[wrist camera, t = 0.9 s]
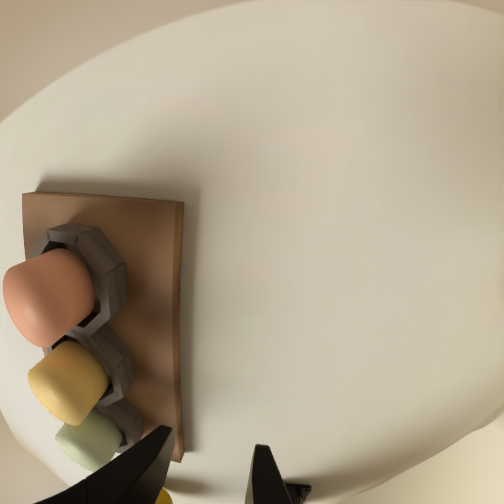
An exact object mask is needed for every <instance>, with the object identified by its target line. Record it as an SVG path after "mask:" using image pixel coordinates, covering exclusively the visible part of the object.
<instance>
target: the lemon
mask: <svg viewBox="0 0 504 504" xmlns="http://www.w3.org/2000/svg"><path fill="white" fill-rule="evenodd" d="M155 504H173V503H172V499H171V497H170V495H169V494H168V493H167V491H166V490H164V489H163V488H162V489H161V491H160V494H159V496H158V498H157V500H156V502H155Z"/></svg>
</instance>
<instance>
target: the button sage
mask: <svg viewBox="0 0 504 504" xmlns="http://www.w3.org/2000/svg"><path fill="white" fill-rule="evenodd" d="M122 440H123V436H122V433H121V431H120V429H119V428H118V427H117V425H116V424H115V423H114V422H113V421H112V420H111V419H109V418H108V417H107V416H106V415H104V414H103V413H101V412H100V411H98V410H96V409H94V408H92V409H91V411H90V412H89V413H88V415H87V416H86V417H85V419H84V420H83V421H82V423H81V424H80V425H70V424H67V423H65V424H64V425H63V426H62V428H61V429H60V430H59V431H58V433H57V434H56V435H55V441H56V443H57V444H58V446H59V447H60V449H61V450H62V451H63V452H64V453H65V454H66V455H67V456H68V457H69V458H70V459H72V460H73V461H74V462H76V463H77V464H79V465H80V466H82V467H84V468H86V469H88V470H90V471H93V472H95V471H97V470H98V469H100V468H101V467H103V466H104V465H106V464H107V463H109V462H110V461H111V459H112V458H113V456H114V454H115V452H116V451H117V449H118V447H119V445H120V444H121V442H122Z"/></svg>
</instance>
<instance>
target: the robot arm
mask: <svg viewBox="0 0 504 504" xmlns="http://www.w3.org/2000/svg"><path fill="white" fill-rule="evenodd" d="M174 447H175V435H174V429H173V428H172V427H169V426H166V425H160V426H158V427H157V428H156V429H154V430H153V431H152V432H150V433H149V434H148V435H146V436H145V437H144V438H142V439H141V440H140V441H138V442H137V443H135V444H134V445H133V446H131V447H130V448H129V449H127V450H126V451H124V452H123V453H122V454H120V455H119V456H117V457H116V458H114V459H113V460H112V461H110V462H109V463H107V464H106V465H104V466H103V467H101V468H100V469H98V470H97V471H95V472H94V473H92V474H91V475H89V476H88V477H86V478H85V479H83V480H81V481H80V482H78V483H77V484H75V485H73V486H72V487H70V488H68V489H66V490H65V491H63V492H60V493H58V494H56V495H54V496H52V497H49V498H47V499H44V500H42V501H39V502H37V503H34V504H155V502H156V500H157V498H158V496H159V494H160V491H161V489H162V487H163V484H164V481H165V478H166V475H167V471H168V468H169V465H170V461H171V458H172V454H173V451H174ZM310 491H311V486H306V485H286V484H284V482H283V479H282V477H281V474H280V472H279V470H278V467H277V465H276V462H275V460H274V457H273V455H272V452H271V450H270V447H269V446H268V445H261V444H256V445H255V448H254V453H253V457H252V463H251V469H250V475H249V480H248V486H247V492H246V498H245V504H303V502H304V501H305V499H306V497H307V496H308V494H309V493H310Z"/></svg>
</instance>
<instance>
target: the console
mask: <svg viewBox="0 0 504 504" xmlns="http://www.w3.org/2000/svg"><path fill="white" fill-rule="evenodd" d="M183 211H184V202H175V201H164V200H153V199H142V198H130V197H117V196H103V195H88V194H71V193H51V192H30V193H24V194H22V214H23V235H24V247H25V257H26V261H27V260H29V259H32V258H34V257H36V256H39V255H41V254H43V253H46V252H48V251H51V250H53V249H56V248H64V249H67V250H69V251H71V252H73V253H74V254H75V255H77V256H78V257H79V258H80V259H81V261H82V262H83V263H84V264H85V266H86V267H87V269H88V271H89V273H90V275H91V278H92V281H93V284H94V288H95V304H94V308H93V310H92V312H91V313H90V314H89V315H88V316H87V317H86V318H85V319H83V320H82V321H81V322H80V323H78V324H77V325H76V326H75V327H73V328H72V329H71V330H70V331H69V332H67V333H66V334H65V335H64V336H63V337H61V338H60V339H59V340H58V341H56V342H55V343H54V344H53V345H52V346H50V347H47V348H43V352H44V355H45V356H47V355H48V354H49V353H50V352H51V351H52V350H54V349H55V348H56V347H57V346H58V345H59V344H61V343H62V342H64V341H74V342H77V343H79V344H81V345H83V346H84V347H86V348H87V349H88V350H89V351H91V352H92V353H93V354H94V355H95V356H96V358H97V359H98V360H99V361H100V363H101V364H102V366H103V367H104V369H105V371H106V374H107V376H108V388H107V390H106V391H105V392H104V394H103V395H102V396H101V398H100V399H99V400H98V402H97V403H96V404H95V405H94V407H93V408H94V409H96V410H98V411H100V412H101V413H103V414H104V415H106V416H107V417H108V418H109V419H111V420H112V421H113V422H114V423H115V424H116V425H117V427H118V428H119V429H120V431H121V433H122V436H123V440H122V442H121V444H120V445H119V447H118V449H117V451H116V452H117V453H123V452H124V451H126V450H127V449H129V448H130V447H131V446H133V445H134V444H135V443H137V442H138V441H140V440H141V439H142V438H144V437H145V436H146V435H148V434H149V433H150V432H152V431H153V430H154V429H156V428H157V427H158V426H160V425H166V426H169V427H172V428H173V429H174V435H175V447H174V451H173V454H172V458H171V461H174V462H178V463H181V460H182V458H183V455H184V443H183V430H182V413H181V392H180V356H179V303H180V266H181V244H182V226H183Z"/></svg>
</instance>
